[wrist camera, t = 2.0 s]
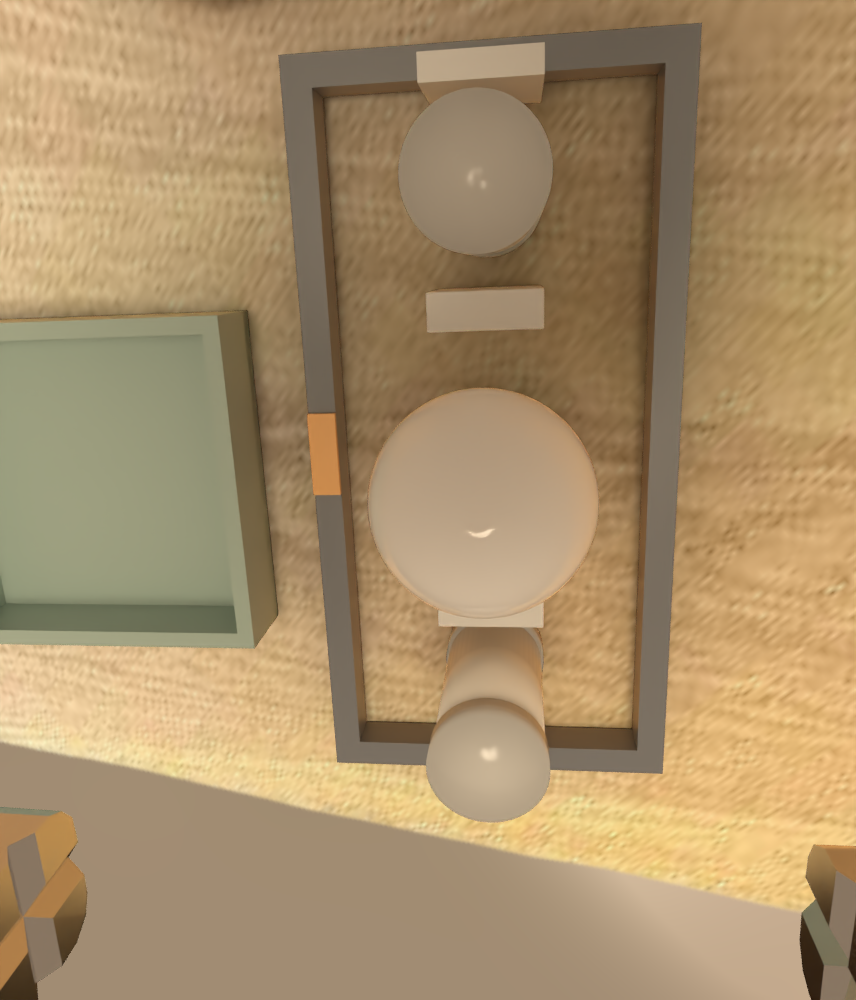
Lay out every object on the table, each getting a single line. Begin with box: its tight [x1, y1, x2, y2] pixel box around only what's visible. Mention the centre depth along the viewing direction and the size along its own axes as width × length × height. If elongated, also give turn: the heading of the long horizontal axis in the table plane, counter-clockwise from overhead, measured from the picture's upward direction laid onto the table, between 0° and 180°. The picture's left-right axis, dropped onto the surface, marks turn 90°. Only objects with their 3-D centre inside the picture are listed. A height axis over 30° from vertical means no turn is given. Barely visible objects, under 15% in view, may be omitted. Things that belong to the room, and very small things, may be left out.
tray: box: [0, 310, 278, 648], centre depth 30 cm, size 12×12×3 cm
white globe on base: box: [398, 87, 553, 257], centre depth 23 cm, size 4×4×8 cm
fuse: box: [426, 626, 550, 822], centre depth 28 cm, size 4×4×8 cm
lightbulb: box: [367, 388, 599, 619], centre depth 24 cm, size 6×6×11 cm
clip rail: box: [278, 23, 702, 774], centre depth 27 cm, size 26×13×4 cm, turn 2°
